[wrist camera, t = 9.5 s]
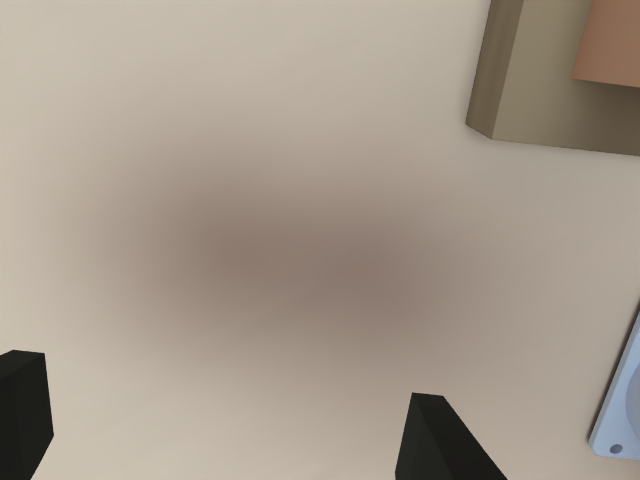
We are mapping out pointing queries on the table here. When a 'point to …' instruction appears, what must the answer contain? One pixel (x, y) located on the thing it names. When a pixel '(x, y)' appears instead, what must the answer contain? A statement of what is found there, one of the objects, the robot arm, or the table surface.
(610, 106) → the olive block
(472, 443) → the robot arm
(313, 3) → the table surface
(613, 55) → the light tan block
